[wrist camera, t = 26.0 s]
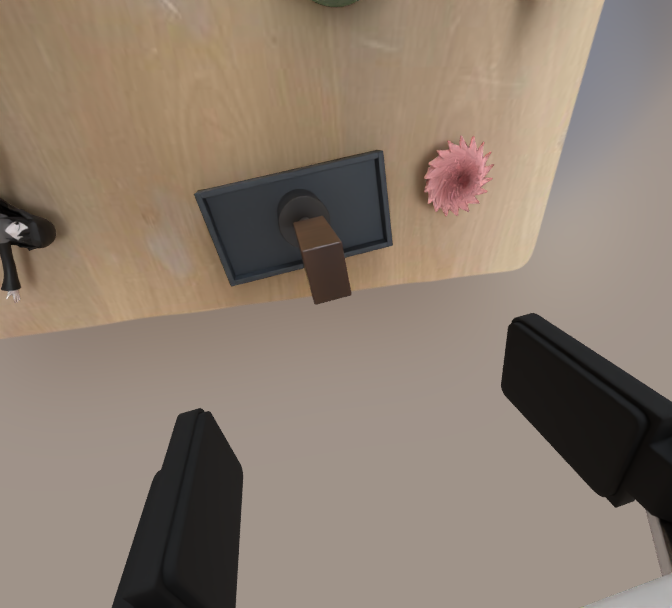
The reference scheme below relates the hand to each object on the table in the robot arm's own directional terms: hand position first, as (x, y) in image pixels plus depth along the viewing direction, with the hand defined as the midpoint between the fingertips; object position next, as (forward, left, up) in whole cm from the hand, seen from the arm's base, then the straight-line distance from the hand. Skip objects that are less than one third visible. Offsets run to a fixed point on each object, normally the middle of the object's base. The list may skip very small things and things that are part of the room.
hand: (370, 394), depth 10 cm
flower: (+17, 0, -29) cm, 34 cm away
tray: (0, -1, -29) cm, 29 cm away
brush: (0, 0, -28) cm, 28 cm away
